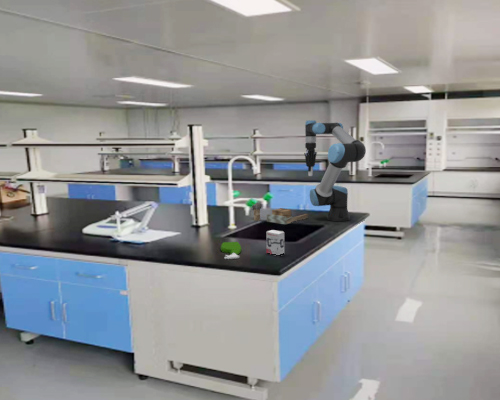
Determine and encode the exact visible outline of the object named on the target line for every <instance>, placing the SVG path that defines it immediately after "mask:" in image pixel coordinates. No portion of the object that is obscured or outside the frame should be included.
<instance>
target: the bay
mask: <svg viewBox="0 0 500 400" xmlns="http://www.w3.org/2000/svg"><path fill="white" fill-rule="evenodd" d="M306 218H307V219H308V218H309V213H305V214H301V215H297V216H291V217H289V218H287V217H285V216H279V215H272V213H267V214H266V222H268V223H275V224H280V225H288V224H292V223H294V222H293V221H296V222H298V221H297V220H300V221H303V220H306ZM302 219H303V220H302ZM291 222H292V223H291Z"/></svg>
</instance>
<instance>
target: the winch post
mask: <svg viewBox="0 0 500 400" xmlns="http://www.w3.org/2000/svg"><path fill="white" fill-rule="evenodd" d="M251 208H252V211H253V221H256V222H259V221H260V220H261V218H260V217H261V209H262V203H261V202H256V204H255V205H253V206H252V205H251Z"/></svg>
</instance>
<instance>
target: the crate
mask: <svg viewBox="0 0 500 400" xmlns="http://www.w3.org/2000/svg"><path fill="white" fill-rule="evenodd" d="M271 212H272V213H271V214H272V215H279V216H285V217H287V218H289V217H292V209H288V208H283V207H282V208H281V207H280V208H277V209H272V210H271Z"/></svg>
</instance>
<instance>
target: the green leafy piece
mask: <svg viewBox="0 0 500 400" xmlns="http://www.w3.org/2000/svg"><path fill="white" fill-rule="evenodd" d="M220 251H221V253H224V254H225V255H224V260H233V259H240V255H239V254H241V252H242V246H241V244H240V243H239V242H238V241H230V242H228V241H227V242H225V241H224V242H222V243H221V245H220ZM228 254H229V255H228Z"/></svg>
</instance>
